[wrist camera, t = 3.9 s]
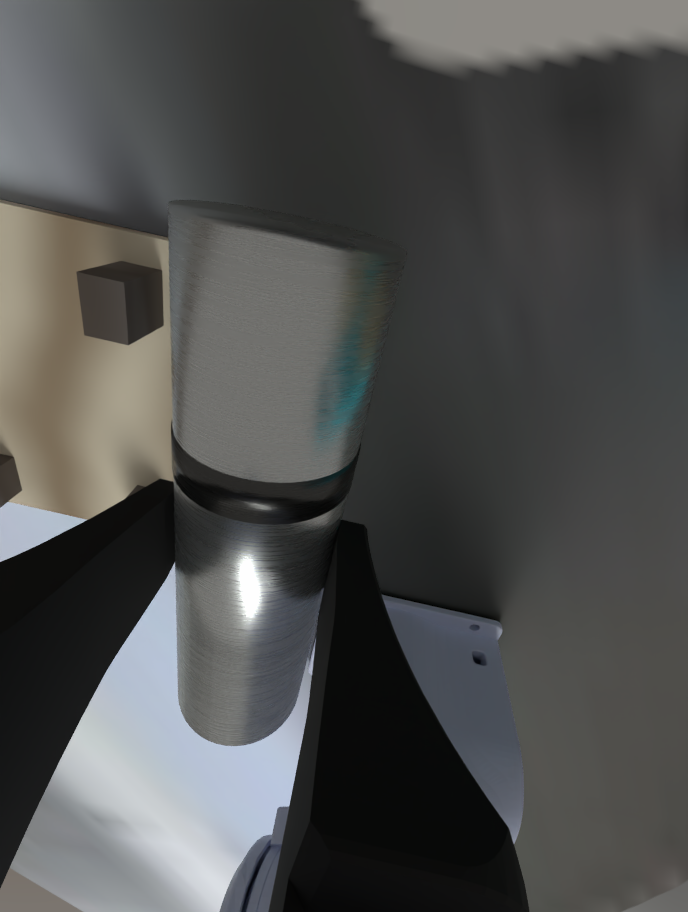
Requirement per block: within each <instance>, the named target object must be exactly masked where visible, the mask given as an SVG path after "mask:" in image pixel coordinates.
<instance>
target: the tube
mask: <svg viewBox="0 0 688 912" xmlns="http://www.w3.org/2000/svg"><path fill="white" fill-rule="evenodd" d="M168 240H169V288H170V335H171V383H172V421H171V456H172V473H173V478H174V526H175V573H176V621H177V668H178V699H179V705H180V709H181V712H182V714H183V716H184V718H185V720H186V722H187V723H188V724H189V726H190V727H191V728H192V729H193V730H194V731H195V732H196V733H197V734H199V735H200V736H201V737H203V738H205V739H207V740H208V741H211V742H214V743H216V744H221V745H225V746H240V745H247V744H251V743H254V742H257V741H259V740H262V739H264V738H265V737H267V736H269V735H270V734H272V733H273V732H275V731H276V730H277V729H278V728H279V727H280V726H281V725H282V724H283V723H284V722H285V721H286V720H287V718H288V717H289V715H290V714H291V712H292V710H293V708H294V706H295V704H296V701H297V698H298V694H299V690H300V686H301V682H302V677H303V673H304V669H305V665H306V661H307V657H308V653H309V649H310V645H311V641H312V637H313V633H314V629H315V625H316V621H317V617H318V613H319V608H320V604H321V600H322V595H323V591H324V586H325V582H326V578H327V574H328V570H329V566H330V561H331V557H332V553H333V549H334V545H335V541H336V537H337V533H338V529H339V525H340V523H341V519H342V515H343V511H344V507H345V503H346V499H347V495H348V493H349V490H350V487H351V484H352V480H353V476H354V472H355V468H356V464H357V460H358V456H359V452H360V446H361V438H362V434H363V430H364V426H365V422H366V418H367V414H368V409H369V405H370V401H371V397H372V393H373V389H374V385H375V381H376V377H377V373H378V369H379V365H380V361H381V357H382V353H383V349H384V345H385V340H386V336H387V332H388V328H389V324H390V320H391V316H392V312H393V308H394V304H395V300H396V296H397V292H398V288H399V284H400V280H401V275H402V271H403V267H404V263H405V259H406V255H407V250H406V249H405V248H403V247H402V246H400V245H398V244H396V243H393V242H391V241H388V240H386V239H383V238H380V237H377V236H374V235H371V234H368V233H364V232H361V231H357V230H354V229H350V228H347V227H343V226H339V225H335V224H331V223H327V222H323V221H319V220H314V219H310V218H305V217H301V216H296V215H291V214H286V213H281V212H276V211H270V210H265V209H259V208H253V207H247V206H241V205H234V204H226V203H218V202H209V201H197V200H175V201H170V202H168Z"/></svg>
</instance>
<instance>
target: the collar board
mask: <svg viewBox="0 0 688 912" xmlns="http://www.w3.org/2000/svg"><path fill="white" fill-rule="evenodd" d="M171 421H172V383H171V335H170V288H169V240H168V237H163V236H159V235H154V234H150V233H146V232H141V231H137V230H132V229H128V228H124V227H119V226H115V225H110V224H106V223H102V222H97V221H93V220H88V219H84V218H80V217H75V216H71V215H66V214H62V213H58V212H53V211H49V210H45V209H40V208H36V207H31V206H27V205H23V204H18V203H14V202H9V201H5V200H1V199H0V507H2V506H3V505H4V504H5V503H7V502H12V503H17V504H21V505H25V506H30V507H34V508H39V509H43V510H47V511H52V512H56V513H61V514H65V515H70V516H74V517H78V518H83V519H87V520H88V519H90V518H92V517H94V516H96V515H97V514H99V513H101V512H103V511H105V510H106V509H108V508H110V507H112V506H113V505H115V504H117V503H119V502H120V501H122V500H124V499H125V498H127V497H129V496H131V495H132V494H134V493H136V492H137V491H139V490H141V489H143V488H144V487H146V486H148V485H149V484H151V483H153V482H155V481H157V480H158V479H164V480H169V481H173V482H174V478H173V473H172V456H171Z"/></svg>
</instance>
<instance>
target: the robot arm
mask: <svg viewBox="0 0 688 912" xmlns="http://www.w3.org/2000/svg"><path fill="white" fill-rule="evenodd" d="M174 562H175V526H174V482H173V481H169V480H164V479H158V480H157V481H155V482H153V483H151V484H149V485H148V486H146V487H144V488H143V489H141V490H139V491H137V492H136V493H134V494H132V495H131V496H129V497H127V498H125V499H124V500H122V501H120V502H119V503H117V504H115V505H113V506H112V507H110V508H108V509H106V510H105V511H103V512H101V513H99V514H97V515H96V516H94V517H92V518H90V519H88V520H87V521H85V522H83V523H81V524H79V525H77V526H75V527H73V528H71V529H69V530H67V531H65V532H63V533H62V534H60V535H58V536H56V537H54V538H52V539H50V540H48V541H46V542H44V543H42V544H40V545H38V546H36V547H34V548H31V549H29V550H27V551H25V552H23V553H20V554H18V555H16V556H14V557H11V558H9V559H7V560H4V561H2V562H0V888H1V885H2V883H3V881H4V879H5V876H6V874H7V872H8V870H9V867H10V865H11V863H12V861H13V859H14V856H15V854H16V852H17V850H18V848H19V845H20V843H21V841H22V839H23V837H24V834H25V832H26V830H27V828H28V826H29V824H30V821H31V819H32V817H33V815H34V813H35V811H36V808H37V806H38V804H39V802H40V800H41V798H42V796H43V794H44V792H45V790H46V788H47V786H48V784H49V782H50V779H51V777H52V775H53V773H54V771H55V769H56V767H57V765H58V763H59V761H60V759H61V757H62V755H63V753H64V751H65V749H66V747H67V745H68V743H69V741H70V739H71V737H72V735H73V733H74V731H75V729H76V727H77V725H78V723H79V721H80V719H81V717H82V715H83V714H84V712H85V710H86V708H87V706H88V704H89V702H90V700H91V699H92V697H93V695H94V693H95V691H96V689H97V687H98V685H99V684H100V682H101V680H102V678H103V676H104V674H105V672H106V671H107V669H108V667H109V666H110V664H111V663H112V661H113V659H114V658H115V656H116V654H117V653H118V651H119V650H120V648H121V647H122V645H123V644H124V642H125V641H126V639H127V638H128V636H129V635H130V633H131V632H132V630H133V629H134V627H135V626H136V624H137V623H138V621H139V620H140V618H141V616H142V615H143V613H144V612H145V610H146V609H147V607H148V606H149V604H150V603H151V601H152V600H153V598H154V597H155V595H156V594H157V592H158V590H159V589H160V587H161V586H162V584H163V583H164V581H165V580H166V578H167V576H168V574H169V572H170V570H171V568H172V566H173V564H174ZM473 624H475V625H473ZM502 631H503V630H502V626H501V623H499V622H498V621H495V620H492V619H487V618H483V617H478V616H474V615H469V614H465V613H461V612H456V611H452V610H447V609H443V608H439V607H434V606H430V605H425V604H421V603H416V602H412V601H408V600H403V599H399V598H394V597H390V596H385V595H382V594H381V591H380V588H379V584H378V581H377V578H376V574H375V570H374V566H373V562H372V558H371V553H370V548H369V542H368V535H367V529H366V527H365V526H364V525H362V524H357V523H353V522H349V521H344V520H341V523H340V525H339V529H338V533H337V537H336V541H335V545H334V549H333V553H332V557H331V561H330V566H329V570H328V574H327V578H326V582H325V586H324V591H323V595H322V600H321V605H320V610H319V616H318V625H317V634H316V639H315V643H314V647H313V650H312V654H311V658H310V662H309V667H308V672H309V673H310V674H311V675H312V680H311V689H310V698H309V705H308V712H307V719H306V724H305V729H304V734H303V740H302V745H301V750H300V755H299V760H298V765H297V770H296V776H295V781H294V786H293V791H292V796H291V801H290V806H289V807H279V808H278V809H277V814H276V819H275V824H274V829H273V834H272V835H266V836H263V837H261V838H260V839H259V840H257V841H256V843H255V844H254V845H253V846H252V847H251V848H250V850H249V851H248V853H247V855H246V856H245V858H244V860H243V861H242V863H241V864H240V865H239V867H238V868H237V870H236V872H235V874H234V876H233V878H232V880H231V882H230V884H229V887H228V889H227V892H226V894H225V897H224V900H223V903H222V906H221V909H220V912H529V906H528V900H527V895H526V889H525V884H524V880H523V876H522V872H521V869H520V865H519V861H518V857H517V854H516V850H515V847H514V843H515V841H516V838H517V836H518V833H519V829H520V826H521V821H522V814H523V803H524V777H523V764H522V756H521V750H520V744H519V740H518V735H517V730H516V725H515V721H514V716H513V711H512V706H511V702H510V697H509V692H508V687H507V683H506V678H505V673H504V668H503V664H502V659H501V654H500V649H499V645H498V641H497V640H498V639H499V637H500V636H501V634H502Z"/></svg>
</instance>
